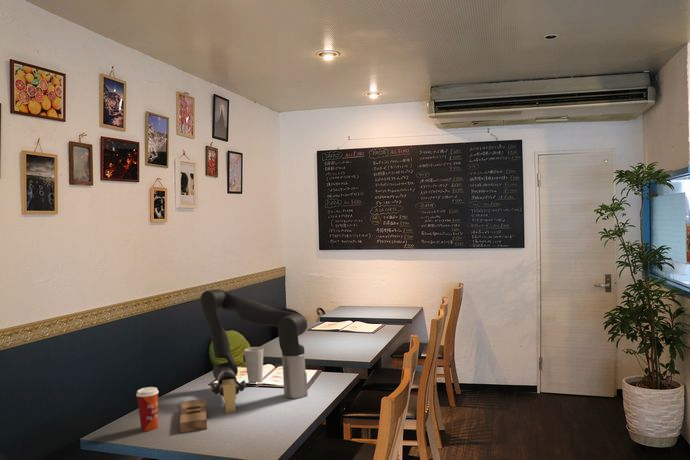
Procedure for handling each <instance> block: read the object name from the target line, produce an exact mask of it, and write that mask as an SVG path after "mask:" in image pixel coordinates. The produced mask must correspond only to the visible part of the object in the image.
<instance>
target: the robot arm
mask: <svg viewBox="0 0 690 460" xmlns="http://www.w3.org/2000/svg"><path fill="white" fill-rule="evenodd" d="M199 302H200V305H201V308H202V312H203V315H204V318H205V321H206V324H207V327H208V329H209V334H210V337H211V342H212V343H211V344H212V348H213V355H214V357H215V358H216V359H225V360H227V361H225V362H222V363H218V364H216V365H214V367H213V368H212V375H213V378H214V380H215V381H216V382H217V385H216V384H211V385H210V391H211V392H212V394H214V395H218V394H219V396H221V397H223V396H224V394H223V384H222V380H229V379H234V380H235V386H236V396H237V395H238V394H240V392H243V391H244V390H245V388H246V380H241V381H240V382H239V381H238V380H237V376H238V371H239V370H238V366H237V364H236V362H235V360H234V357H233V355H232V352H231V348H230V341H229V338H228V334H227V332H226V330H225V329H224V327H223V326H222V324H221V322H220V320H219V318H218V312H217V311H219V310H225V311H228V312H232V313H233V314H235V315H236V316H237V317H238V318H239V319H240V320H242V321H244V322H247V323H249V324H252V325H257V326H266V327H270V326H271V327H277V330H278V331H277V332H278V342H279V348H280V350H281V357H282V358H281V359H282V361H281V362H282V375H283V379H282V380H283V394H284V395H283V396H284V397H285V398H287V399H299V398H303V397H307V396H308V395H309V393H308V376H307V375H308V374H307V372H306V357H305V346H304V345H303V344H300V343H299V336H301V335H303V334H304V333H305V332H306V331H307V329H308V322H307V320H306V318H305V317H304V316H303V315H301V314H299V313H297V312H296V313H295V312H290V311H284V310H281V309H278V308H274V307H271V306H269V305H266V304H263V303H261V302H258V301H254V300H252V299H247V298H244V297H240V296H237V295H234V294H232V293H229V292H228V291H225V290H224V289H220V288H215V289H209V290H204V291H203V292H202V293H201V295H200V301H199Z"/></svg>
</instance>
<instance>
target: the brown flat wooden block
mask: <svg viewBox="0 0 690 460" xmlns="http://www.w3.org/2000/svg"><path fill="white" fill-rule="evenodd" d="M180 407H181V408H180V416H179V417H180V419H179V420H180V421H179V427H180V428H179V429H180V433H187V432H195V431H201V430H202V431H203V430H208V423H207V422H208V421H207V403H206V398H203V399H201V398H200V399H193V400H187V401H186V400H185V401H181V406H180Z"/></svg>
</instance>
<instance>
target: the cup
mask: <svg viewBox="0 0 690 460" xmlns="http://www.w3.org/2000/svg"><path fill="white" fill-rule="evenodd" d="M243 352H244V358H245V365H246V373H247V380H248V381H247V382H248V384H249V383H256V382H261V381H262V382H263V373H264V347H262V346H252V347H250V346H249V347H247V348H244V350H243Z"/></svg>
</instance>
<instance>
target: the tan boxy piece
mask: <svg viewBox="0 0 690 460" xmlns="http://www.w3.org/2000/svg"><path fill="white" fill-rule="evenodd" d="M222 384H223V394H224V396H222V398H223V401H224V409H225V414H232V413H233V414H234V413H237V412H236V400H237V395H236V386H235V380H234V379H229V380H222Z"/></svg>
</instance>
